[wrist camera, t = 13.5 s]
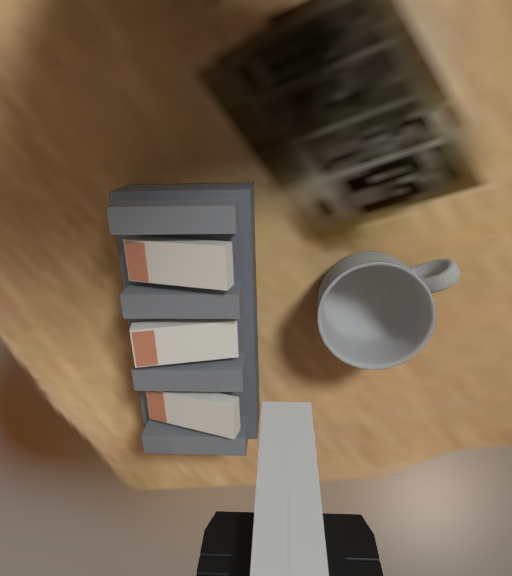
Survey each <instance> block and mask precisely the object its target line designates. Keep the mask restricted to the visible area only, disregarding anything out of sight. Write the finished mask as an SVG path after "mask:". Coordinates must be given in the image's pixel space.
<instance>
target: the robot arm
mask: <svg viewBox="0 0 512 576" xmlns="http://www.w3.org/2000/svg"><path fill="white" fill-rule="evenodd" d="M197 576H383V573H382V568H381V564H380V562H379V555H378V550H377V546H376V542H375V537H374V534H373V532H372V531H371V529H370V528H369V526H368V525H367V523H366V522H365V520H364V519H363V517H362V516H361V515H353V514H323V513H322V504H321V495H320V485H319V475H318V466H317V456H316V447H315V437H314V428H313V418H312V409H311V402H262V413H261V427H260V441H259V455H258V469H257V483H256V497H255V511H254V513H249V512H218V511H217V512H216V513H215V515H214V516H213V518H212V519H211V521H210V523H209V524H208V526H207V528H206V529H205V532H204V537H203V542H202V547H201V554H200V558H199V563H198V568H197Z"/></svg>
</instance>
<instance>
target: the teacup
mask: <svg viewBox="0 0 512 576" xmlns="http://www.w3.org/2000/svg"><path fill="white" fill-rule="evenodd" d="M434 275H436V276H434ZM430 276H433V277H430ZM427 277H428V278H427ZM459 277H460V269H459V267H458V265H457V264H456V263H455V262H454V261H452V260H451V259H438V260H433V261H429V262H426V263H423V264H420V265H417V266H410V267H408V266H407V265H405V264H404V263H403V262H401V261H400V260H398V259H397V258H395V257H393V256H391V255H388V254H385V253H381V252H374V251H366V252H359V253H355V254H352V255H349V256H347V257H345V258H343V259H341V260H340V261H338V262H337V263H336V264H335V265H334V266H332V267H331V268H330V270H329V271H328V272H327V274H326V275H325V277H324V278H323V280H322V282H321V285H320V288H319V292H318V299H317V310H318V311H317V324H318V330H319V333H320V336H321V338H322V340H323V342H324V344H325V346H326V347H327V348H328V350H329V351H330V352H331V353H332V354H333V355H334V356H335V357H337V358H338V359H339V360H341V361H342V362H344V363H346V364H349V365H351V366H354V367H357V368H361V369H368V370H380V369H388V368H392V367H395V366H398V365H400V364H403V363H404V362H406V361H408V360H410V358H412V357H413V356H415V355H417V354H418V352H420V351H421V350H422V349H423V348H424V346H425V345H426V344H427V342H428V340H429V339H430V337H431V335H432V332H433V330H434V325H435V322H436V310H435V304H434V300H433V297H432V295H431V293H435V292H439V291H442V290H445V289H447V288H449V287H451V286H452V285H454V284H455V283H456V282H457V281H458V280H459Z"/></svg>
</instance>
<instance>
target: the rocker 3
mask: <svg viewBox="0 0 512 576" xmlns="http://www.w3.org/2000/svg"><path fill="white" fill-rule="evenodd" d="M146 397H147V404H148V411H149V418H150V419H153V420H157V421H161V422H165V423H169V424H173V425H177V426H181V427H185V428H189V429H194V430H198V431H202V432H206V433H210V434H214V435H218V436H222V437H226V438H231V439H235V438H236V436H237V434H238V433H239V431H240V408H239V397H237V396H232V395H227V394H222V393H217V392H198V391H146Z"/></svg>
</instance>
